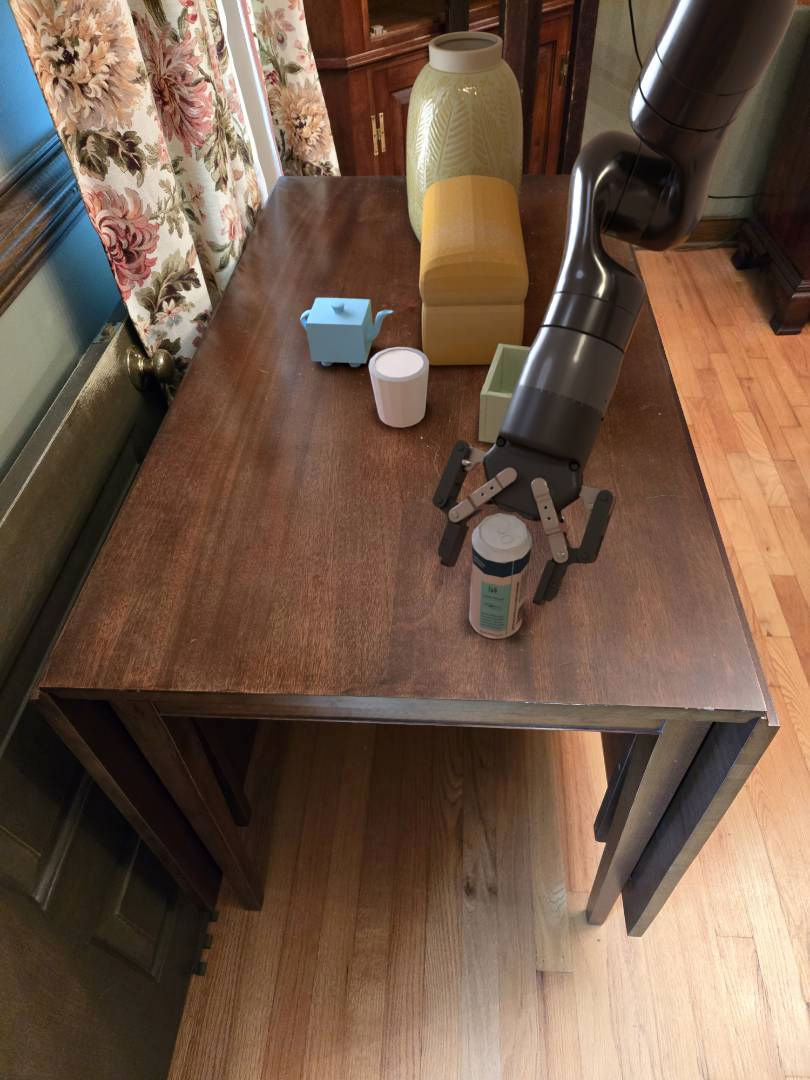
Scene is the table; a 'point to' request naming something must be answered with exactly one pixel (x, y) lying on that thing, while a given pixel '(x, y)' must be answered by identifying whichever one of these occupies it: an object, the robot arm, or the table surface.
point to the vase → (463, 118)
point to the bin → (499, 389)
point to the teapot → (341, 330)
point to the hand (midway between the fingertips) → (491, 584)
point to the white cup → (400, 385)
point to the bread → (471, 270)
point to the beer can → (499, 575)
